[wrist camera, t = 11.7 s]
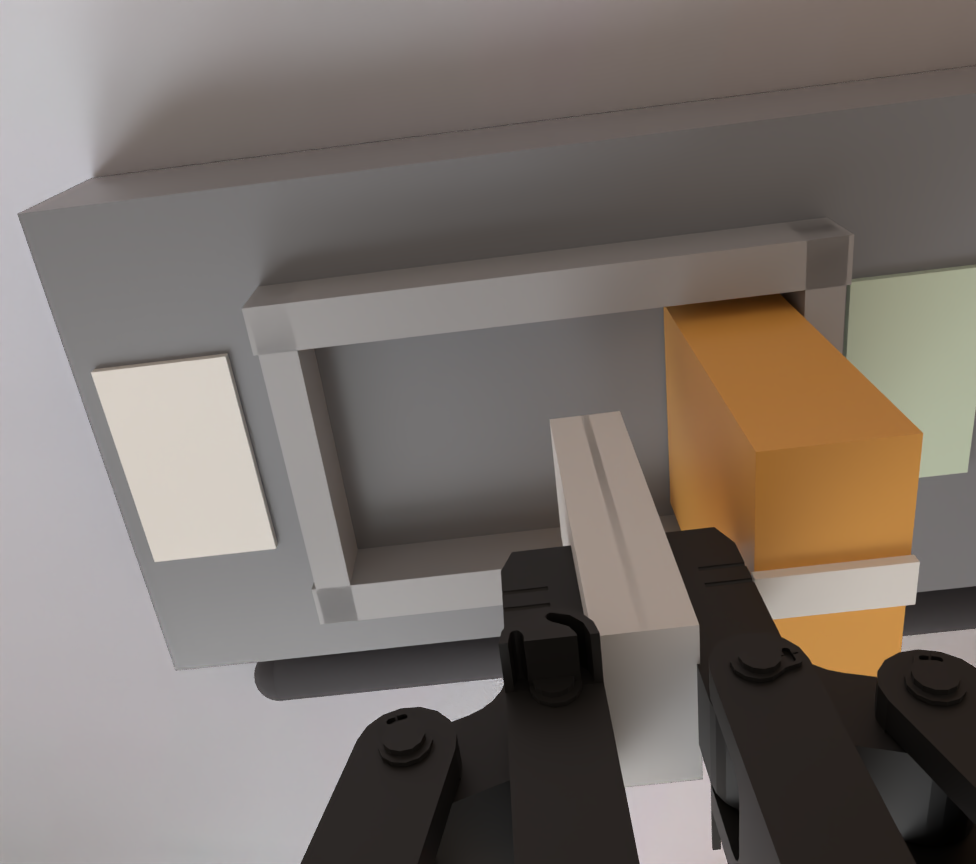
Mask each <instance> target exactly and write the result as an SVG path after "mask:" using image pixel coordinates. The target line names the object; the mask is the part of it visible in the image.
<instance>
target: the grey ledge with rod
mask: <svg viewBox="0 0 976 864" xmlns="http://www.w3.org/2000/svg"><path fill="white" fill-rule="evenodd" d="M975 628H976V586H972V587H962V588H953V589H943V590H934V591H925V592H917V593H916V603H915V605H906V607H905V616H904V626H903V636H908V635H918V634H927V633H937V632H946V631H956V630H966V629H975ZM499 639H500V636H499V637H490V638H480V639H471V640H461V641H452V642H442V643H433V644H423V645H414V646H404V647H395V648H385V649H376V650H367V651H357V652H348V653H338V654H329V655H319V656H310V657H300V658H291V659H281V660H272V661H263V662H258V663H257V665H256V668H255V673H254V678H255V683H256V686H257V688H258V690H259V691H260V692H261V693H262V694H263V695H264V696H265V697H267V698H269V699H272V700H276V701H283V700H293V699H302V698H312V697H322V696H331V695H341V694H350V693H360V692H370V691H379V690H389V689H398V688H408V687H418V686H427V685H437V684H447V683H456V682H466V681H475V680H485V679H495V678H503V673H502V666H501V659H500V652H499V645H498V643H499Z"/></svg>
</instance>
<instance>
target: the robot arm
mask: <svg viewBox="0 0 976 864" xmlns="http://www.w3.org/2000/svg"><path fill="white" fill-rule="evenodd" d="M550 429H551V439H552V449H553V459H554V469H555V479H556V489H557V498H558V508H559V518H560V528H561V538H562V544H563V546H560V547H552V548H543V549H534V550H525V551H517V552H512V553H511V554H510V556H509V558H508V560H507V561H506V563H505V565H504V566H503V568H502V570H501V584H502V600H503V617H504V629H503V630H502V631H501V635H500V639H499V643H498V645H499V652H500V659H501V666H502V673H503V680H504V686H503V688H502V690H501V692H500V693H499V694H498V695H497V697H496V698H495V699H494V700H493V701H492V702H491V703H489V704H488V705H487V706H485V707H484V708H483V709H481V710H479V711H477V712H475V713H473V714H471V715H469V716H466V717H464V718H461V719H458V720H456V721H453V722H451V721H450V720H449V719H448V718H446V717H445V716H443V715H442V714H441V713H439V712H438V711H435V710H430V709H426V708H422V707H415V708H401V709H398V710H396V711H393V712H390V713H387V714H385V715H382V716H381V717H379V718H378V719H377V720H375V721H374V722H372V723H371V724H370V725H368V726H367V727H366V729H365V730H364V731H363V733H362V734H361V736H360V737H359V738H358V740H357V742H356V744H355V746H354V748H353V750H352V753H351V755H350V757H349V759H348V761H347V763H346V766H345V768H344V770H343V772H342V774H341V777H340V779H339V781H338V783H337V785H336V787H335V790H334V792H333V794H332V796H331V798H330V801H329V803H328V805H327V807H326V809H325V812H324V814H323V816H322V818H321V820H320V822H319V825H318V827H317V829H316V831H315V833H314V836H313V838H312V840H311V842H310V844H309V846H308V849H307V851H306V853H305V855H304V857H303V860H302V862H301V864H639V859H638V854H637V849H636V843H635V838H634V833H633V828H632V823H631V818H630V813H629V808H628V803H627V798H626V793H625V787H632V786H641V785H653V784H662V783H672V782H681V781H691V780H700V779H703V769H702V756H703V759H704V762H705V766H706V769H707V772H708V775H709V778H710V782H711V819H712V848H713V850H717V849H721V842H722V845H723V849H724V852H725V855H726V859H727V862H728V864H976V668H975V667H973V666H972V665H970V664H969V663H967V662H965V661H964V660H962V659H960V658H957V657H954V656H951V655H948V654H945V653H942V652H936V651H927V650H912V651H905V652H899V653H897V654H895V655H893V656H891V657H889V658H888V659H886V660H884V662H883V663H882V665H881V667H880V668H879V670H878V671H877V677H875V676H866V675H858V674H850V673H842V672H837V671H832V670H827V669H824V668H822V667H819V666H816V665H813V664H812V663H811V661H810V659H809V658H808V657H807V655H806V654H805V653H804V652H803V651H802V649H801V648H800V647H799V646H797V645H795V644H793V643H792V642H790V641H788V640H786V639H785V638H782V637H781V635H780V633H779V631H778V629H777V627H776V625H775V623H774V621H773V619H772V617H771V615H770V613H769V611H768V609H767V607H766V605H765V603H764V601H763V599H762V597H761V595H760V593H759V591H758V588H757V586H756V584H755V582H753V580H752V576H751V574H750V572H749V570H748V568H747V566H745V563H744V560H743V558H742V556H741V554H740V552H739V550H738V548H737V546H736V544H735V542H733V541H732V540H731V539H729V538H728V537H727V536H725V535H724V534H723V533H721V532H720V531H719V530H717V529H716V528H715V527H709V528H700V529H692V530H683V531H674V532H666V533H665V531H664V529H663V526H662V523H661V521H660V518H659V515H658V512H657V510H656V507H655V504H654V502H653V499H652V496H651V494H650V491H649V488H648V486H647V483H646V480H645V478H644V475H643V472H642V469H641V467H640V464H639V461H638V459H637V456H636V453H635V451H634V448H633V445H632V443H631V440H630V437H629V435H628V432H627V429H626V426H625V424H624V421H623V418H622V416H621V413H620V411H616V412H608V413H599V414H591V415H582V416H573V417H565V418H557V419H550Z"/></svg>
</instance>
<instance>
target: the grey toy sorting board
mask: <svg viewBox="0 0 976 864" xmlns="http://www.w3.org/2000/svg"><path fill="white" fill-rule="evenodd" d="M18 217H19V220H20V223H21V226H22V228H23V231H24V234H25V237H26V240H27V243H28V246H29V249H30V251H31V254H32V257H33V260H34V263H35V266H36V269H37V272H38V275H39V277H40V280H41V283H42V286H43V289H44V292H45V295H46V298H47V301H48V303H49V306H50V309H51V312H52V315H53V318H54V321H55V324H56V327H57V329H58V332H59V335H60V338H61V341H62V344H63V347H64V350H65V353H66V355H67V358H68V361H69V364H70V367H71V370H72V373H73V376H74V378H75V381H76V384H77V387H78V390H79V393H80V396H81V399H82V402H83V404H84V407H85V410H86V413H87V416H88V419H89V422H90V425H91V428H92V430H93V433H94V436H95V439H96V442H97V445H98V448H99V451H100V454H101V456H102V459H103V462H104V465H105V468H106V471H107V474H108V477H109V480H110V482H111V485H112V488H113V491H114V494H115V497H116V500H117V503H118V505H119V508H120V511H121V514H122V517H123V520H124V523H125V526H126V529H127V531H128V534H129V537H130V540H131V543H132V546H133V549H134V552H135V555H136V557H137V560H138V563H139V566H140V569H141V572H142V575H143V578H144V581H145V583H146V586H147V589H148V592H149V595H150V598H151V601H152V604H153V607H154V609H155V612H156V615H157V618H158V621H159V624H160V627H161V630H162V632H163V635H164V638H165V641H166V644H167V647H168V650H169V653H170V656H171V658H172V661H173V664H174V667H175V670H176V671H177V670H187V669H196V668H206V667H215V666H225V665H234V664H244V663H253V662H263V661H272V660H281V659H291V658H300V657H310V656H319V655H329V654H338V653H348V652H357V651H367V650H376V649H385V648H395V647H404V646H414V645H423V644H433V643H442V642H452V641H461V640H471V639H480V638H490V637H499V636H500V635H501V631H502V630H503V629H504V617H503V600H502V584H501V570H502V568H503V566H504V565H505V563H506V561H507V560H508V558H509V556H510V554H511V553H512V552H517V551H525V550H534V549H543V548H552V547H560V546H563V544H562V538H561V528H560V518H559V508H558V498H557V489H556V479H555V469H554V459H553V449H552V439H551V429H550V419H557V418H565V417H573V416H582V415H591V414H599V413H608V412H616V411H620V413H621V416H622V418H623V421H624V424H625V426H626V429H627V432H628V435H629V437H630V440H631V443H632V445H633V448H634V451H635V453H636V456H637V459H638V461H639V464H640V467H641V469H642V472H643V475H644V478H645V480H646V483H647V486H648V488H649V491H650V494H651V496H652V499H653V502H654V504H655V507H656V510H657V512H658V515H659V518H660V521H661V523H662V526H663V529H664V531H665V533H666V532H674V531H681V529H680V526H679V524H678V521H677V519H676V516H675V514H674V511H673V508H672V506H671V503H670V478H669V450H668V422H667V393H666V365H665V337H664V308H663V307H668V306H677V305H685V304H693V303H702V302H710V301H719V300H727V299H736V298H744V297H752V296H761V295H769V294H778V293H780V294H781V295H782V296H783V297H784V298H785V299H786V300H787V301H788V302H789V303H790V304H791V305H792V306H793V307H794V308H795V309H796V310H797V311H798V312H799V313H800V314H801V315H802V316H803V317H804V318H805V319H806V320H807V321H808V322H809V323H810V324H811V325H813V326H814V327H815V328H816V329H817V330H818V331H819V332H820V333H821V334H822V335H823V336H824V337H825V338H826V339H827V340H828V341H829V342H830V343H831V344H832V345H833V346H834V347H835V348H836V349H837V350H838V351H839V352H840V353H841V354H842V355H843V356H844V357H845V358H846V359H848V360H849V361H850V362H851V363H852V364H853V365H854V366H855V367H856V368H857V369H858V370H859V371H860V372H861V373H862V374H863V375H864V376H865V377H866V378H867V379H868V380H869V381H870V382H871V383H872V384H873V385H874V386H875V387H876V388H877V389H878V390H879V391H880V392H881V393H883V394H884V395H885V396H886V397H887V398H888V399H889V400H890V401H891V402H892V403H893V404H894V405H895V406H896V407H897V408H898V409H899V410H900V411H901V412H902V413H903V414H904V415H905V416H906V417H907V418H908V419H909V420H910V421H911V422H912V423H913V424H914V425H915V426H916V427H918V428H919V429H920V430H921V431H922V432H923V442H922V452H921V461H920V471H919V481H918V490H917V500H916V510H915V519H914V529H913V539H912V548H911V555H915V556H916V558H917V559H918V560H919V561H920V566H919V575H918V584H917V592H925V591H934V590H943V589H953V588H962V587H972V586H976V66H969V67H961V68H953V69H946V70H938V71H930V72H922V73H914V74H906V75H898V76H890V77H883V78H875V79H867V80H859V81H851V82H843V83H835V84H827V85H820V86H812V87H804V88H796V89H788V90H780V91H772V92H764V93H757V94H749V95H741V96H733V97H725V98H717V99H709V100H701V101H694V102H686V103H678V104H670V105H662V106H654V107H646V108H638V109H631V110H623V111H615V112H607V113H599V114H591V115H583V116H575V117H568V118H560V119H552V120H544V121H536V122H528V123H520V124H512V125H505V126H497V127H489V128H481V129H473V130H465V131H457V132H449V133H442V134H434V135H426V136H418V137H410V138H402V139H394V140H386V141H379V142H371V143H363V144H355V145H347V146H339V147H331V148H323V149H316V150H308V151H300V152H292V153H284V154H276V155H268V156H260V157H253V158H245V159H237V160H229V161H221V162H213V163H205V164H197V165H190V166H182V167H174V168H166V169H158V170H150V171H142V172H134V173H127V174H119V175H111V176H103V177H95V178H91V179H88V180H86V181H84V182H82V183H80V184H78V185H76V186H74V187H72V188H70V189H68V190H66V191H64V192H62V193H59V194H57V195H55V196H53V197H51V198H49V199H47V200H45V201H43V202H41V203H39V204H37V205H35V206H33V207H30V208H28V209H26V210H24V211H22V212H20V213H18Z"/></svg>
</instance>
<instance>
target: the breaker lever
mask: <svg viewBox="0 0 976 864" xmlns="http://www.w3.org/2000/svg"><path fill="white" fill-rule="evenodd" d="M663 308H664V337H665V365H666V393H667V422H668V450H669V478H670V503H671V506H672V508H673V511H674V514H675V516H676V519H677V521H678V524H679V526H680V529H681V531H683V530H692V529H700V528H709V527H715V528H716V529H717V530H719V531H720V532H721V533H723V534H724V535H725V536H727V537H728V538H729V539H731V540H732V541H733V542H735V544H736V546H737V548H738V550H739V552H740V554H741V556H742V558H743V560H744V563H745V566H747V568H748V570H749V572H750V574H751V576H752V580H753V582H755V584H756V586H757V588H758V591H759V593H760V595H761V597H762V599H763V601H764V603H765V605H766V607H767V609H768V611H769V613H770V615H771V617H772V619H773V621H774V623H775V625H776V627H777V629H778V631H779V633H780V635H781V637H782V638H785V639H786V640H788V641H790V642H792V643H793V644H795V645H797V646H799V647H800V648H801V649H802V651H803V652H804V653H805V654H806V655H807V657H808V658H809V659H810V661H811V663H812V664H813V665H816V666H819V667H822V668H824V669H827V670H832V671H837V672H842V673H850V674H858V675H866V676H875V677H877V671H878V670H879V668H880V667H881V665H882V663H883V662H884V660H886V659H888V658H889V657H891V656H893V655H895V654H897V653H899V652H901V645H902V636H903V626H904V616H905V607H906V605H915V603H916V593H917V584H918V575H919V566H920V561H919V560H918V559H917V558H916V556H915V555H911V548H912V539H913V529H914V519H915V510H916V500H917V490H918V481H919V471H920V461H921V452H922V442H923V432H922V431H921V430H920V429H919V428H918V427H916V426H915V425H914V424H913V423H912V422H911V421H910V420H909V419H908V418H907V417H906V416H905V415H904V414H903V413H902V412H901V411H900V410H899V409H898V408H897V407H896V406H895V405H894V404H893V403H892V402H891V401H890V400H889V399H888V398H887V397H886V396H885V395H884V394H883V393H881V392H880V391H879V390H878V389H877V388H876V387H875V386H874V385H873V384H872V383H871V382H870V381H869V380H868V379H867V378H866V377H865V376H864V375H863V374H862V373H861V372H860V371H859V370H858V369H857V368H856V367H855V366H854V365H853V364H852V363H851V362H850V361H849V360H848V359H846V358H845V357H844V356H843V355H842V354H841V353H840V352H839V351H838V350H837V349H836V348H835V347H834V346H833V345H832V344H831V343H830V342H829V341H828V340H827V339H826V338H825V337H824V336H823V335H822V334H821V333H820V332H819V331H818V330H817V329H816V328H815V327H814V326H813V325H811V324H810V323H809V322H808V321H807V320H806V319H805V318H804V317H803V316H802V315H801V314H800V313H799V312H798V311H797V310H796V309H795V308H794V307H793V306H792V305H791V304H790V303H789V302H788V301H787V300H786V299H785V298H784V297H783V296H782V295H781V294H780V293H778V294H769V295H761V296H752V297H744V298H736V299H727V300H719V301H710V302H702V303H693V304H685V305H677V306H668V307H663Z"/></svg>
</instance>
